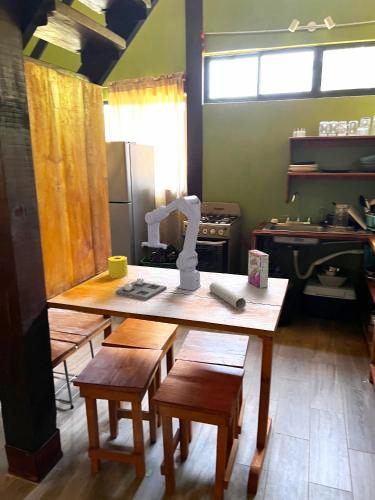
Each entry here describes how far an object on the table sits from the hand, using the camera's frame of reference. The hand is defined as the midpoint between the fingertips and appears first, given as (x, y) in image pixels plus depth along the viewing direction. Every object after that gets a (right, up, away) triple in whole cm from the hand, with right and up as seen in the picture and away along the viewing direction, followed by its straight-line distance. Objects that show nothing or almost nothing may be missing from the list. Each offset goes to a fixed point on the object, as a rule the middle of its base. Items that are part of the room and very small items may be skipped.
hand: (154, 260), depth 186 cm
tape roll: (-21, -8, +8) cm, 24 cm away
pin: (-10, -15, -19) cm, 26 cm away
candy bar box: (+52, -12, -10) cm, 54 cm away
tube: (+34, -17, -28) cm, 47 cm away
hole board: (-5, -14, -17) cm, 23 cm away
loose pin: (-6, -13, -12) cm, 18 cm away
